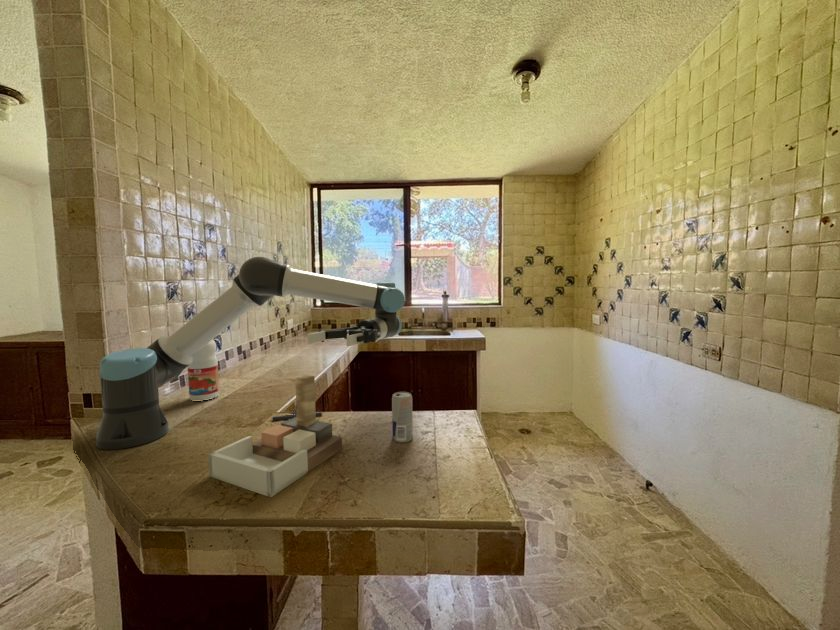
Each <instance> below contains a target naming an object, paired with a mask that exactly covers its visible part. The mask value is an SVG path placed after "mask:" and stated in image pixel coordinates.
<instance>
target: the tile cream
mask: <svg viewBox="0 0 840 630" xmlns="http://www.w3.org/2000/svg"><path fill="white" fill-rule="evenodd" d="M283 443H284V450H285V451H289V452H293V453H298V452H300V451H302V450H303V449H305V450H308V449H310V448H312V447H313V446H315V445H316V435H315V433H314V432H309V431H305V430H300V429H299V430H297V431H295V432H293V433H291V434H289V435H287V436H285V437H283Z"/></svg>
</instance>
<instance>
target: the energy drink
mask: <svg viewBox="0 0 840 630" xmlns="http://www.w3.org/2000/svg"><path fill="white" fill-rule="evenodd" d="M391 413H392V414H391V419H392V421H391V425H392V426H391V427H392V429H391V430H392V431H391V432H392V433H391V434H392V440H393V441H394V442H396V443H403V444H404V443H408V442H410V441H411V440H412V439H413V437H414V436H413V433H414V432H413V395H412V393H411V392H409V391H397V392H394V393H393V394H392V397H391Z"/></svg>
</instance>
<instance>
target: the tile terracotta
mask: <svg viewBox="0 0 840 630" xmlns="http://www.w3.org/2000/svg"><path fill="white" fill-rule="evenodd" d="M291 433H293V428H291V427H286V426H281V425H280V424H276V425H275V426H272V427H270V428H268V429H265V430H263V431H261V438H262V445H266V446H270V447H274V448H279V447H281V446H283V445H284V443H283V437H285V436H287V435H289V434H291Z"/></svg>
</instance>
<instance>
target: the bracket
mask: <svg viewBox="0 0 840 630" xmlns="http://www.w3.org/2000/svg"><path fill="white" fill-rule="evenodd" d="M322 413H323V412H321V411H319V412H316V418H320V417H322V415H323V414H322ZM289 414H293V415H287V414H284V415H281V416H280V415H279V416H272V422H277V421H276V420H283V421H286V420H285V419H292V418H294V417H297V410H296V409H294V410H293V411H292V412H290V413H289ZM294 414H295V415H294Z"/></svg>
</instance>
